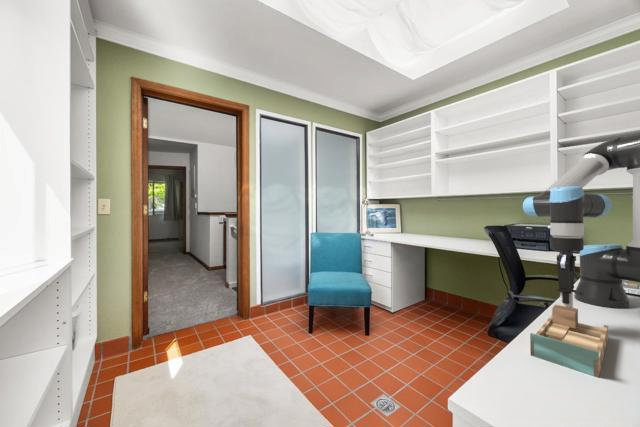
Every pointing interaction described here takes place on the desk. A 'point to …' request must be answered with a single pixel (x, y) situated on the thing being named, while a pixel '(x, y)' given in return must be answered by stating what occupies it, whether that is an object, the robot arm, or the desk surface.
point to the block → (565, 316)
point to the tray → (571, 346)
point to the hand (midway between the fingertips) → (566, 313)
